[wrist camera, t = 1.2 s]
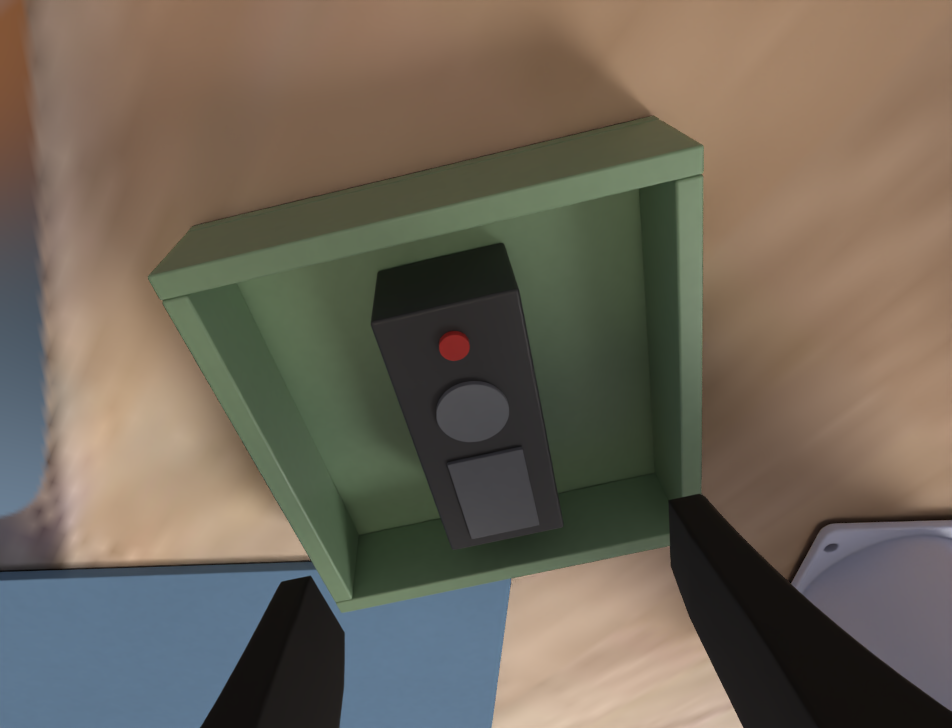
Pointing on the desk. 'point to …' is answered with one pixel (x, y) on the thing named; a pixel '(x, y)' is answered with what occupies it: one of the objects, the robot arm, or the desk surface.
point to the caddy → (549, 331)
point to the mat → (230, 647)
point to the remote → (469, 393)
